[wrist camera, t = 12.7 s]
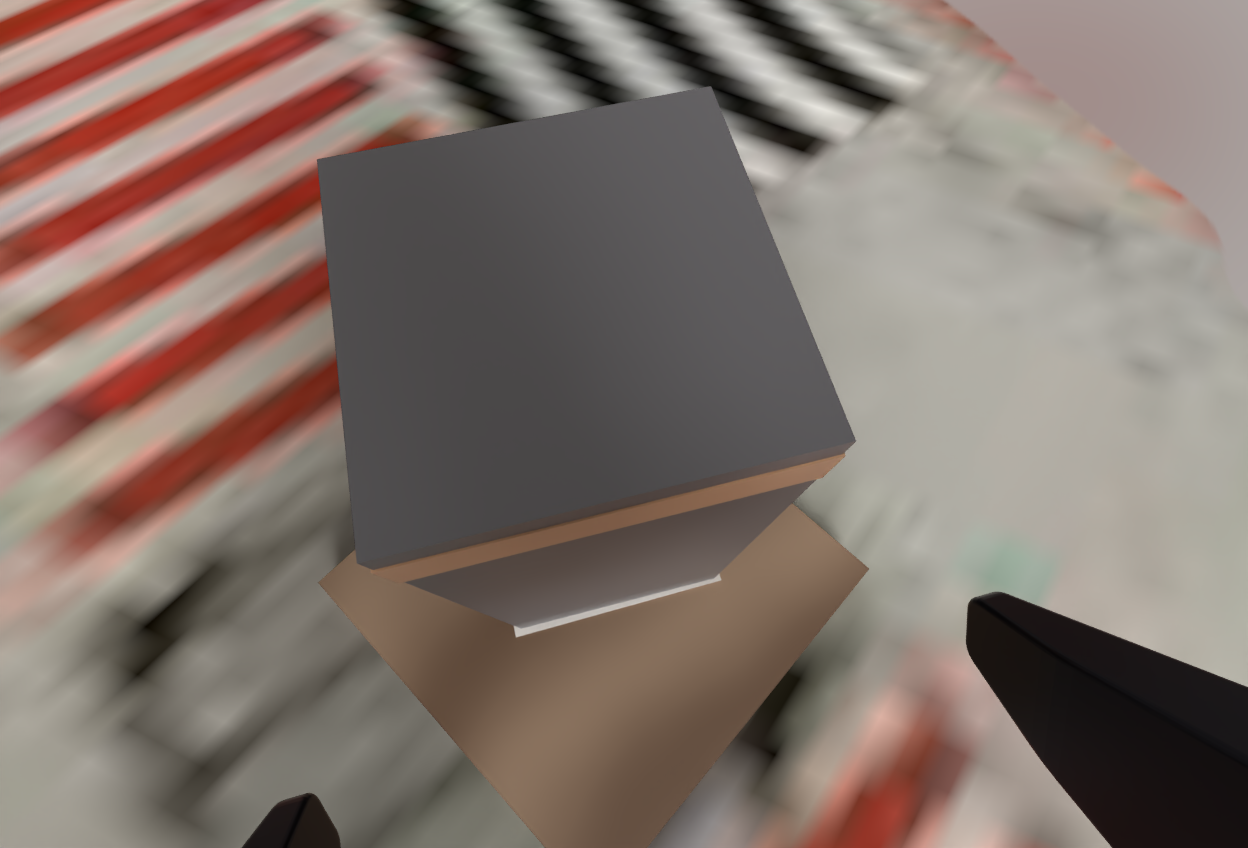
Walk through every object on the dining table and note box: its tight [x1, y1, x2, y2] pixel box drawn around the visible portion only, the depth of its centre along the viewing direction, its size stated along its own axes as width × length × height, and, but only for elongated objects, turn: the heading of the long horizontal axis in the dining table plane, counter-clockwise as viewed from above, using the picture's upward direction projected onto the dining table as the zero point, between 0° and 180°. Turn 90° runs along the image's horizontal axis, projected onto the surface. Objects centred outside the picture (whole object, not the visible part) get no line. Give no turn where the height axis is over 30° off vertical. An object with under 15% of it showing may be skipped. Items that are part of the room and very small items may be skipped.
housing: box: [317, 86, 856, 629], centre depth 14 cm, size 6×6×12 cm
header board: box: [318, 503, 869, 848], centre depth 19 cm, size 12×12×4 cm
